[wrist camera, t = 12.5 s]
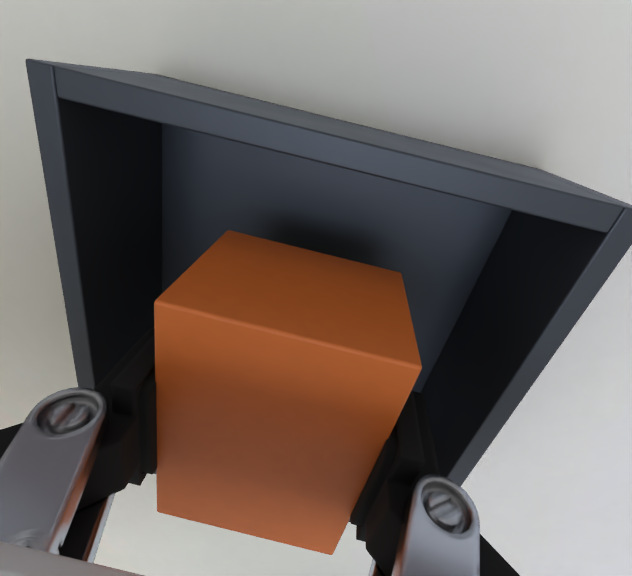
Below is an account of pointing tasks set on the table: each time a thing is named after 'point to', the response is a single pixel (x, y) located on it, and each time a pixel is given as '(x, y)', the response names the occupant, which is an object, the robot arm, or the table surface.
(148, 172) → the tray
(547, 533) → the table surface
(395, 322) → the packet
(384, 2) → the table surface
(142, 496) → the table surface
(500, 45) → the table surface
